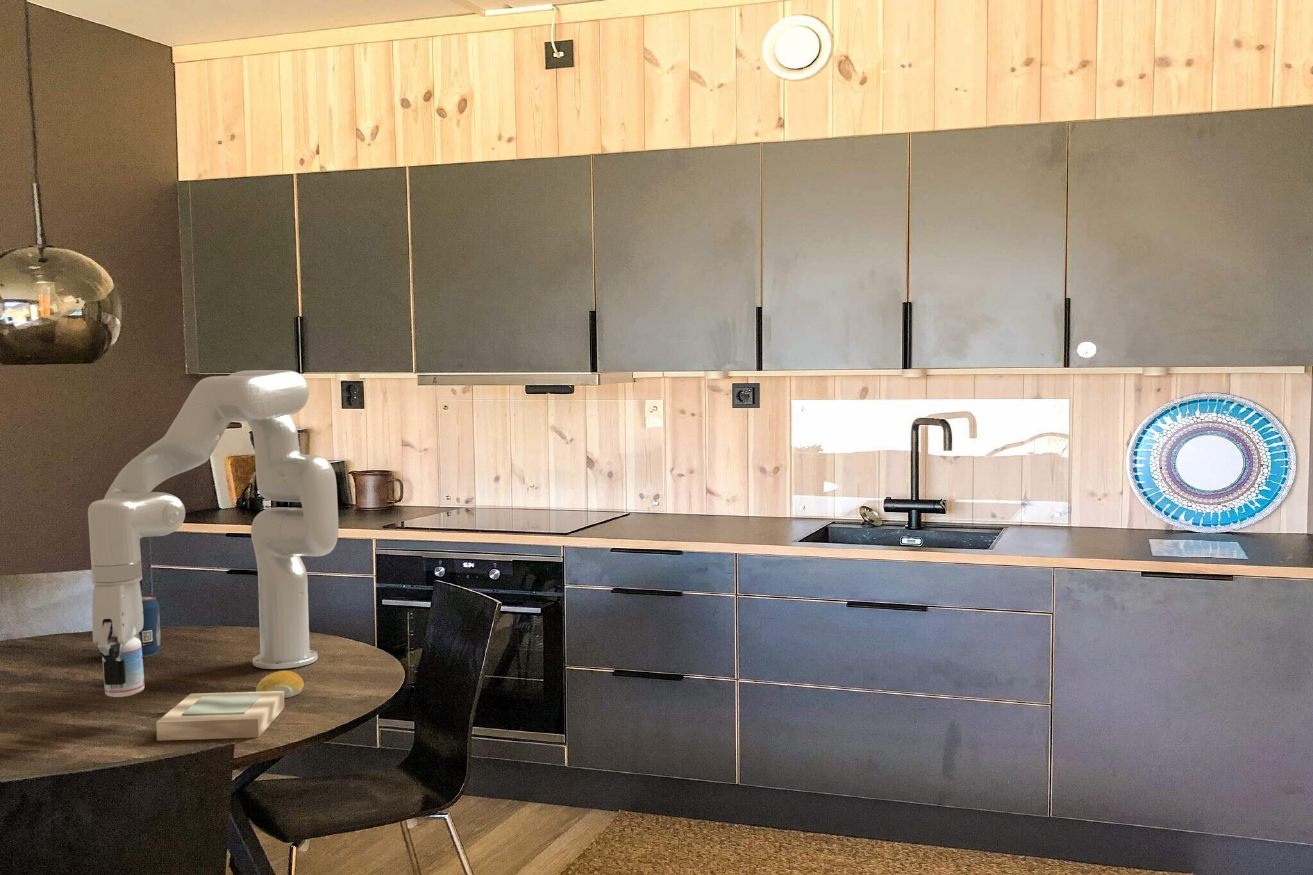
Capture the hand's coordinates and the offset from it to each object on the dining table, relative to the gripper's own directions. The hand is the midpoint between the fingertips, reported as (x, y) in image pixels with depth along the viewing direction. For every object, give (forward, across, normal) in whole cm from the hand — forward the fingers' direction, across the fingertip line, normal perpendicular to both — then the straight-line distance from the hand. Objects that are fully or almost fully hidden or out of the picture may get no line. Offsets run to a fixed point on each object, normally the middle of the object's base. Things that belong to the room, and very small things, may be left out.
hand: (123, 676), depth 189 cm
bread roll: (+9, -16, +21) cm, 28 cm away
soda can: (+9, -48, -15) cm, 51 cm away
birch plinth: (+8, +2, +17) cm, 19 cm away
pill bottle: (+3, 0, 0) cm, 3 cm away
